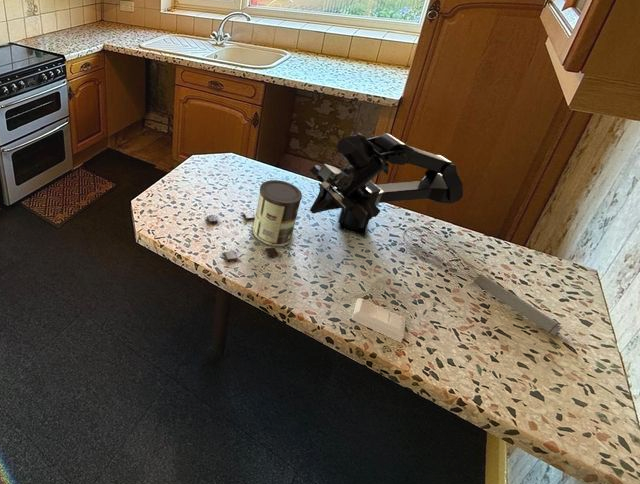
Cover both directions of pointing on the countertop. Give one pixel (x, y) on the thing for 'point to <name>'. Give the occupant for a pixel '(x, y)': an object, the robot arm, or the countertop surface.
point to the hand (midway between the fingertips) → (311, 212)
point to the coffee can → (276, 212)
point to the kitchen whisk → (501, 293)
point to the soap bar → (379, 319)
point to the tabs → (231, 255)
